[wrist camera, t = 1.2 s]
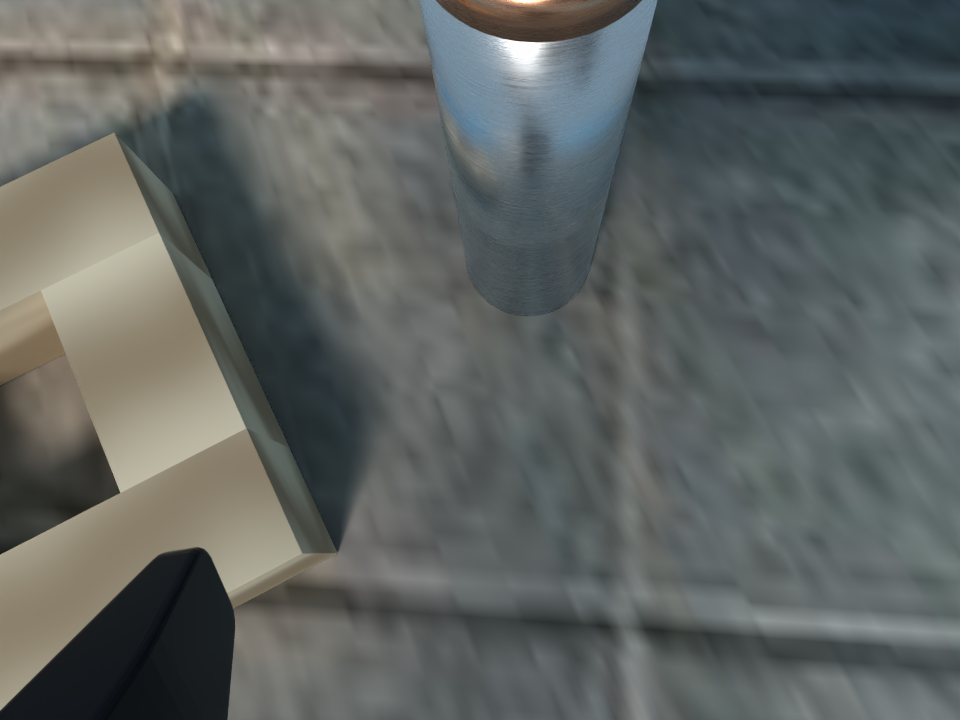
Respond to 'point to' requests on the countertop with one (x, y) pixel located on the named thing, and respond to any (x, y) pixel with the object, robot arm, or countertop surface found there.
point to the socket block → (137, 403)
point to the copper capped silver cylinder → (533, 133)
